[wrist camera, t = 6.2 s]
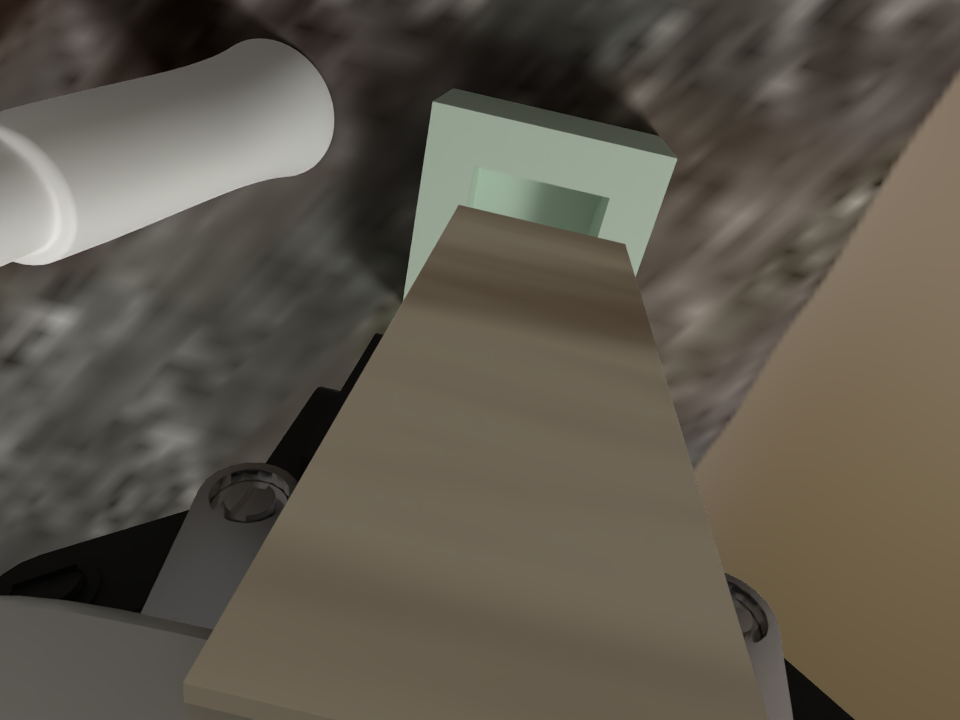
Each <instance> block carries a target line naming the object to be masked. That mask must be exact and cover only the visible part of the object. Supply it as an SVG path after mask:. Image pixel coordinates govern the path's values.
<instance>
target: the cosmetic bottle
mask: <svg viewBox="0 0 960 720" xmlns="http://www.w3.org/2000/svg"><path fill="white" fill-rule="evenodd" d="M333 130H334V109H333V104H332V100H331V96H330V93H329V91H328V88H327V86H326V84H325V82H324V80H323V78H322V76H321V75H320V74H319V72H318V71H317V69H316V68H315V67H314V66H313V64H312V63H311V62H310V61H309V60H308V59H307V58H306V57H305V56H303V55H302V54H301V53H300V52H298V51H297V50H295V49H294V48H292V47H290V46H288V45H286V44H284V43H281V42H278V41H275V40H270V39H260V38H257V39H249V40H245V41H242V42H240V43H237V44H235V45H234V46H232V47H231V48H229V49H227V50H226V51H224V52H222V53H220V54H218V55H216V56H213V57H211V58H208V59H206V60H203V61H200V62H197V63H194V64H191V65H188V66H185V67H181V68H178V69H174V70H171V71H167V72H163V73H158V74H154V75H150V76H146V77H142V78H138V79H133V80H129V81H124V82H120V83H116V84H111V85H107V86H102V87H98V88H94V89H89V90H85V91H80V92H76V93H72V94H68V95H63V96H59V97H55V98H51V99H47V100H43V101H39V102H34V103H30V104H26V105H22V106H19V107H15V108H11V109H7V110H3V111H0V267H1V266H3V265H5V264H8V263H10V262H16V263H20V264H26V265H44V264H49V263H52V262H55V261H57V260H60V259H63V258H66V257H68V256H71V255H74V254H76V253H79V252H81V251H84V250H87V249H89V248H92V247H95V246H97V245H100V244H102V243H105V242H108V241H110V240H113V239H115V238H118V237H120V236H123V235H125V234H127V233H130V232H132V231H135V230H137V229H140V228H142V227H145V226H147V225H150V224H152V223H154V222H157V221H159V220H162V219H164V218H166V217H169V216H171V215H174V214H176V213H178V212H181V211H183V210H186V209H188V208H190V207H193V206H195V205H198V204H200V203H202V202H205V201H207V200H210V199H212V198H215V197H217V196H220V195H222V194H225V193H227V192H230V191H233V190H235V189H238V188H241V187H244V186H247V185H250V184H253V183H257V182H260V181H264V180H268V179H273V178H279V177H289V176H294V175H298V174H301V173H304V172H306V171H307V170H309V169H311V168H312V167H313V166H315V165H316V164H317V163H318V162H319V161H320V160H321V159H322V157H323V156H324V155H325V153H326V151H327V149H328V147H329V145H330V143H331V140H332V136H333Z"/></svg>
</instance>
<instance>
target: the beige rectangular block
mask: <svg viewBox="0 0 960 720" xmlns="http://www.w3.org/2000/svg"><path fill="white" fill-rule="evenodd" d="M183 698H184V703H187V704H191V705H196V706H200V707H204V708H208V709H213V710H217V711H221V712H225V713H230V714H234V715H238V716H242V717H246V718H251V719H255V720H768V717H767V714H766V710H765V707H764V704H763V700H762V697H761V694H760V690H759V687H758V684H757V680H756V677H755V674H754V670H753V667H752V664H751V660H750V657H749V654H748V651H747V647H746V644H745V641H744V637H743V634H742V631H741V627H740V624H739V621H738V617H737V614H736V611H735V607H734V604H733V601H732V597H731V594H730V591H729V587H728V584H727V581H726V577H725V574H724V571H723V568H722V564H721V561H720V557H719V554H718V551H717V547H716V544H715V541H714V538H713V534H712V531H711V527H710V525H709V521H708V517H707V514H706V511H705V508H704V504H703V501H702V497H701V494H700V491H699V488H698V484H697V481H696V477H695V474H694V471H693V468H692V464H691V461H690V458H689V454H688V451H687V448H686V444H685V441H684V438H683V434H682V431H681V428H680V424H679V421H678V418H677V414H676V411H675V408H674V404H673V401H672V398H671V394H670V391H669V388H668V384H667V381H666V378H665V374H664V371H663V368H662V364H661V361H660V358H659V354H658V351H657V348H656V344H655V341H654V338H653V334H652V331H651V328H650V324H649V321H648V318H647V314H646V311H645V308H644V304H643V301H642V298H641V295H640V291H639V288H638V285H637V281H636V278H635V275H634V271H633V268H632V265H631V261H630V258H629V255H628V251H627V248H626V245H625V244H623V243H619V242H615V241H611V240H606V239H602V238H598V237H594V236H589V235H585V234H581V233H577V232H572V231H568V230H564V229H560V228H555V227H551V226H547V225H543V224H539V223H534V222H530V221H526V220H522V219H517V218H513V217H509V216H505V215H500V214H496V213H492V212H488V211H483V210H479V209H475V208H471V207H466V206H462V205H458V207H457V209H456V210H455V212H454V214H453V216H452V217H451V219H450V221H449V223H448V224H447V226H446V228H445V230H444V231H443V233H442V235H441V236H440V238H439V240H438V242H437V243H436V245H435V247H434V249H433V250H432V252H431V254H430V255H429V257H428V259H427V261H426V262H425V264H424V266H423V268H422V269H421V271H420V273H419V275H418V276H417V278H416V280H415V281H414V283H413V285H412V287H411V288H410V290H409V292H408V294H407V295H406V297H405V299H404V301H403V302H402V304H401V306H400V307H399V309H398V311H397V313H396V314H395V316H394V318H393V320H392V321H391V323H390V325H389V326H388V328H387V330H386V332H385V333H384V335H383V337H382V339H381V340H380V342H379V344H378V346H377V347H376V349H375V351H374V352H373V354H372V356H371V358H370V359H369V361H368V363H367V365H366V366H365V368H364V370H363V372H362V373H361V375H360V377H359V378H358V380H357V382H356V384H355V385H354V387H353V389H352V391H351V392H350V394H349V396H348V397H347V399H346V401H345V403H344V404H343V406H342V408H341V410H340V411H339V413H338V415H337V417H336V418H335V420H334V422H333V423H332V425H331V427H330V429H329V430H328V432H327V434H326V436H325V437H324V439H323V441H322V443H321V444H320V446H319V448H318V449H317V451H316V453H315V455H314V456H313V458H312V460H311V462H310V463H309V465H308V467H307V468H306V470H305V472H304V474H303V475H302V477H301V479H300V481H299V482H298V484H297V486H296V488H295V489H294V491H293V493H292V494H291V496H290V498H289V500H288V501H287V503H286V505H285V507H284V508H283V510H282V512H281V514H280V515H279V517H278V519H277V520H276V522H275V524H274V526H273V527H272V529H271V531H270V533H269V534H268V536H267V538H266V539H265V541H264V543H263V545H262V546H261V548H260V550H259V552H258V553H257V555H256V557H255V559H254V560H253V562H252V564H251V565H250V567H249V569H248V571H247V572H246V574H245V576H244V578H243V579H242V581H241V583H240V585H239V586H238V588H237V590H236V591H235V593H234V595H233V597H232V598H231V600H230V602H229V604H228V605H227V607H226V609H225V610H224V612H223V614H222V616H221V617H220V619H219V621H218V623H217V624H216V626H215V628H214V630H213V631H212V633H211V635H210V636H209V638H208V640H207V642H206V643H205V645H204V647H203V649H202V650H201V652H200V654H199V656H198V657H197V659H196V661H195V662H194V664H193V666H192V668H191V669H190V671H189V673H188V675H187V676H186V678H185V680H184V681H183Z"/></svg>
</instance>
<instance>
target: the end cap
mask: <svg viewBox="0 0 960 720" xmlns="http://www.w3.org/2000/svg"><path fill="white" fill-rule="evenodd" d="M676 161H677V157H676V156H675V155H674V154H673V152H672V151H671V150H670V149H669V147H668V146H667V145H666V144H665V142H664V141H663V140H662V139H661V137H660V136H657V135H653V134H648V133H644V132H640V131H635V130H631V129H627V128H622V127H618V126H614V125H610V124H605V123H601V122H597V121H592V120H588V119H584V118H580V117H575V116H571V115H567V114H562V113H558V112H554V111H550V110H545V109H541V108H537V107H532V106H528V105H524V104H520V103H515V102H511V101H507V100H502V99H498V98H494V97H490V96H485V95H481V94H477V93H472V92H468V91H464V90H460V89H455V88H453V89H451V90H450V91H448V92H447V93H445V94H443V95H442V96H440V97H439V98H437V99H436V100H434V101H433V103H432V109H431V116H430V123H429V129H428V136H427V143H426V150H425V156H424V163H423V170H422V176H421V183H420V190H419V196H418V203H417V210H416V217H415V223H414V230H413V237H412V243H411V250H410V257H409V263H408V270H407V277H406V284H405V290H404V297H403V301H404V299H405V297H406V295H407V294H408V292H409V290H410V288H411V287H412V285H413V283H414V281H415V280H416V278H417V276H418V275H419V273H420V271H421V269H422V268H423V266H424V264H425V262H426V261H427V259H428V257H429V255H430V254H431V252H432V250H433V249H434V247H435V245H436V243H437V242H438V240H439V238H440V236H441V235H442V233H443V231H444V230H445V228H446V226H447V224H448V223H449V221H450V219H451V217H452V216H453V214H454V212H455V210H456V209H457V207H458V205H462V206H466V207H471V208H475V209H479V210H483V211H488V212H492V213H496V214H500V215H505V216H509V217H513V218H517V219H522V220H526V221H530V222H534V223H539V224H543V225H547V226H551V227H555V228H560V229H564V230H568V231H572V232H577V233H581V234H585V235H589V236H594V237H598V238H602V239H606V240H611V241H615V242H619V243H623V244H625V245H626V248H627V251H628V255H629V258H630V261H631V265H632V268H633V271H634V275H635V277H636V274H637V271H638V268H639V266H640V263H641V260H642V257H643V254H644V252H645V249H646V246H647V243H648V240H649V237H650V235H651V232H652V229H653V226H654V223H655V220H656V218H657V215H658V212H659V209H660V206H661V204H662V201H663V198H664V195H665V192H666V189H667V187H668V184H669V181H670V178H671V175H672V172H673V170H674V167H675V164H676Z"/></svg>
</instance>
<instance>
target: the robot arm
mask: <svg viewBox="0 0 960 720" xmlns="http://www.w3.org/2000/svg"><path fill="white" fill-rule="evenodd" d="M382 337H383V335H382V334H378V333H376V334H375V335H374V337H373V338H372V340H371V342H370V343H369V345H368V347H367V348H366V350H365V352H364V353H363V355H362V357H361V358H360V360H359V362H358V363H357V365H356V366H355V368H354V370H353V371H352V373H351V375H350V376H349V378H348V380H347V381H346V383H345V385H344V386H343V388H342V390H341V391H338V390H333V389H329V388H325V387H318V388H317V389H316V390H315V391H314V393H313V394H312V396H311V397H310V399H309V400H308V402H307V403H306V405H305V406H304V408H303V409H302V411H301V412H300V413H299V415H298V416H297V418H296V419H295V421H294V422H293V424H292V425H291V427H290V428H289V430H288V431H287V433H286V434H285V436H284V437H283V439H282V440H281V442H280V443H279V444H278V446H277V447H276V449H275V450H274V452H273V453H272V455H271V456H270V458H269V459H268V461H267V462H266V464H264V463H243V464H237V465H232V466H229V467H227V468H224V469H222V470H219V471H217V472H216V473H214V474H213V475H212V476H210V477H209V478H208V479H206V480H205V482H204V483H203V485H202V486H201V487H200V489H199V490H198V492H197V495H196V497H195V499H194V501H193V503H192V505H191V507H190V509H189V510H187V511H184V512H181V513H177V514H174V515H171V516H167V517H164V518H161V519H158V520H154V521H151V522H148V523H144V524H141V525H138V526H134V527H131V528H128V529H125V530H121V531H118V532H115V533H111V534H108V535H105V536H101V537H98V538H95V539H92V540H88V541H85V542H82V543H78V544H75V545H72V546H69V547H65V548H62V549H59V550H55V551H52V552H49V553H45V554H42V555H39V556H37V557H34V558H32V559H29V560H27V561H24V562H22V563H20V564H18V565H17V566H15V567H13V568H12V569H10V570H9V571H7V572H6V573H4V574H2V575H1V576H0V720H255V719H251V718H246V717H242V716H238V715H234V714H230V713H225V712H221V711H217V710H213V709H208V708H204V707H200V706H196V705H191V704H187V703H184V698H183V681H184V680H185V678H186V676H187V675H188V673H189V671H190V669H191V668H192V666H193V664H194V662H195V661H196V659H197V657H198V656H199V654H200V652H201V650H202V649H203V647H204V645H205V643H206V642H207V640H208V638H209V636H210V635H211V633H212V631H213V630H214V628H215V626H216V624H217V623H218V621H219V619H220V617H221V616H222V614H223V612H224V610H225V609H226V607H227V605H228V604H229V602H230V600H231V598H232V597H233V595H234V593H235V591H236V590H237V588H238V586H239V585H240V583H241V581H242V579H243V578H244V576H245V574H246V572H247V571H248V569H249V567H250V565H251V564H252V562H253V560H254V559H255V557H256V555H257V553H258V552H259V550H260V548H261V546H262V545H263V543H264V541H265V539H266V538H267V536H268V534H269V533H270V531H271V529H272V527H273V526H274V524H275V522H276V520H277V519H278V517H279V515H280V514H281V512H282V510H283V508H284V507H285V505H286V503H287V501H288V500H289V498H290V496H291V494H292V493H293V491H294V489H295V488H296V486H297V484H298V482H299V481H300V479H301V477H302V475H303V474H304V472H305V470H306V468H307V467H308V465H309V463H310V462H311V460H312V458H313V456H314V455H315V453H316V451H317V449H318V448H319V446H320V444H321V443H322V441H323V439H324V437H325V436H326V434H327V432H328V430H329V429H330V427H331V425H332V423H333V422H334V420H335V418H336V417H337V415H338V413H339V411H340V410H341V408H342V406H343V404H344V403H345V401H346V399H347V397H348V396H349V394H350V392H351V391H352V389H353V387H354V385H355V384H356V382H357V380H358V378H359V377H360V375H361V373H362V372H363V370H364V368H365V366H366V365H367V363H368V361H369V359H370V358H371V356H372V354H373V352H374V351H375V349H376V347H377V346H378V344H379V342H380V340H381V339H382ZM724 574H725V577H726V581H727V584H728V587H729V591H730V594H731V597H732V601H733V604H734V607H735V611H736V614H737V617H738V621H739V624H740V627H741V631H742V634H743V637H744V641H745V644H746V647H747V651H748V654H749V657H750V660H751V664H752V667H753V670H754V674H755V677H756V680H757V684H758V687H759V690H760V694H761V697H762V700H763V704H764V707H765V710H766V714H767V717H768V720H854V719H853V718H852V717H851V716H850V715H849V714H847V713H846V712H845V711H844V710H843V709H842V708H841V707H839V706H838V705H837V704H836V703H835V702H834V701H833V700H831V699H830V698H829V697H828V696H827V695H826V694H825V693H823V692H822V691H821V690H820V689H819V688H818V687H817V686H815V685H814V684H813V683H812V682H811V681H810V680H809V679H807V678H806V677H805V676H804V675H803V674H802V673H800V672H799V671H798V670H797V669H796V668H795V667H794V666H793V665H791V664H790V663H789V662H788V661H787V660H786V659H785V658H784V656H783V650H782V643H781V636H780V630H779V626H778V623H777V620H776V617H775V614H774V613H773V611H772V610H771V608H770V607H769V605H768V603H767V602H766V601H765V600H764V599H763V598H762V597H761V596H760V595H759V594H758V593H757V592H756V591H755V590H754V589H753V588H751V587H750V586H748V585H747V584H746V583H744V582H743V581H741V580H739V579H737V578H735V577H733V576H731V575H729V574H727V573H724Z"/></svg>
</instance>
